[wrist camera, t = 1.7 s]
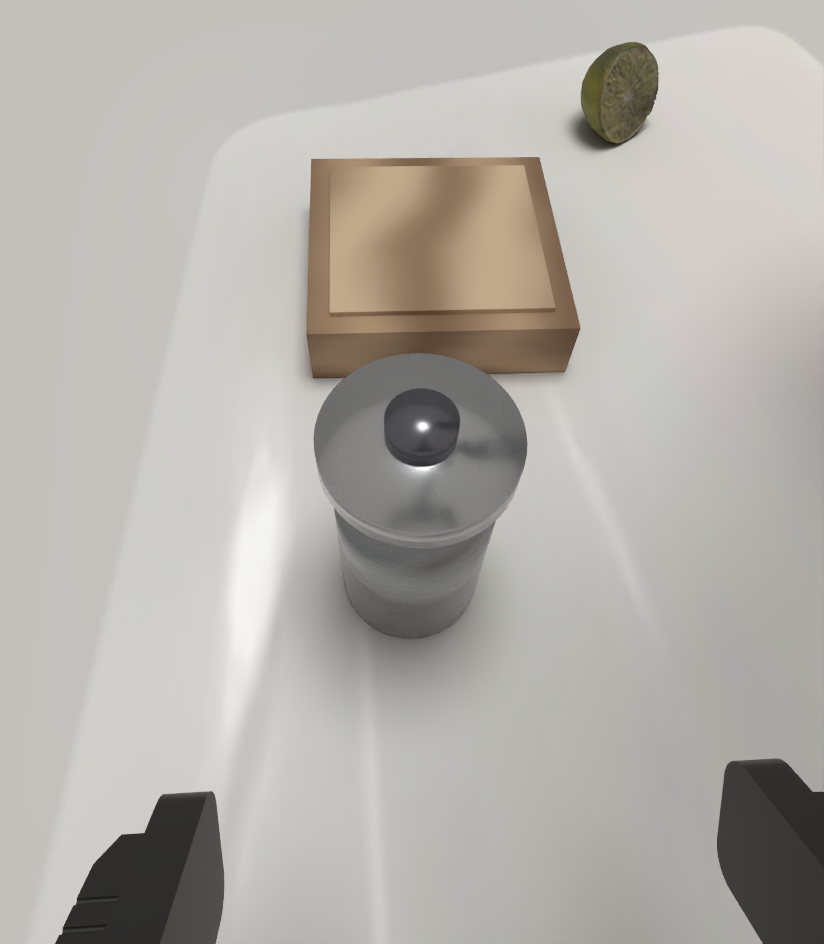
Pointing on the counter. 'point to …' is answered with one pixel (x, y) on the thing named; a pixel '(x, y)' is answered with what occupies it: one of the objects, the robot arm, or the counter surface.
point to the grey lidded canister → (417, 484)
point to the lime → (620, 91)
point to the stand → (436, 265)
